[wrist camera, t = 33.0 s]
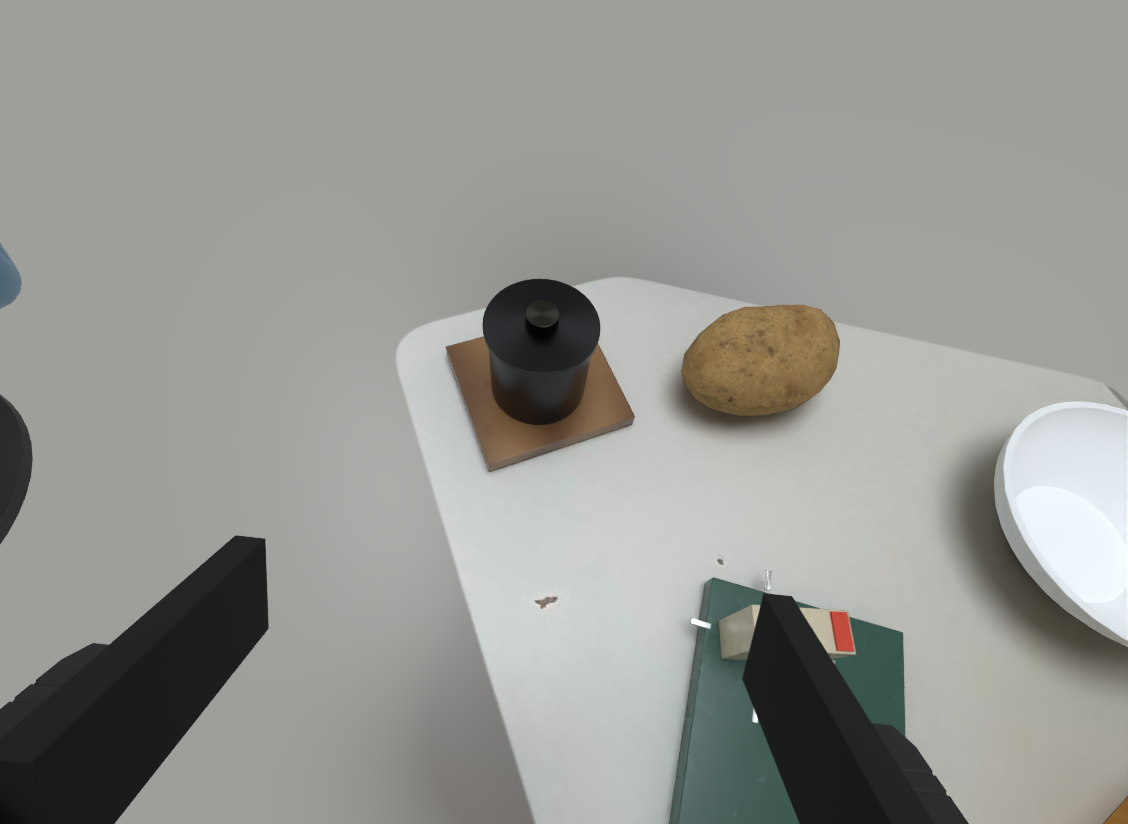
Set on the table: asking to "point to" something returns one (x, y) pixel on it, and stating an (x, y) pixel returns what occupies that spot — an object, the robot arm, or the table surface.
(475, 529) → the table surface
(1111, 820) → the bread
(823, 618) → the cream juice carton
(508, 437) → the board
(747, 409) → the potato
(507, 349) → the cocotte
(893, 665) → the green rectangular slab
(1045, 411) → the bowl
